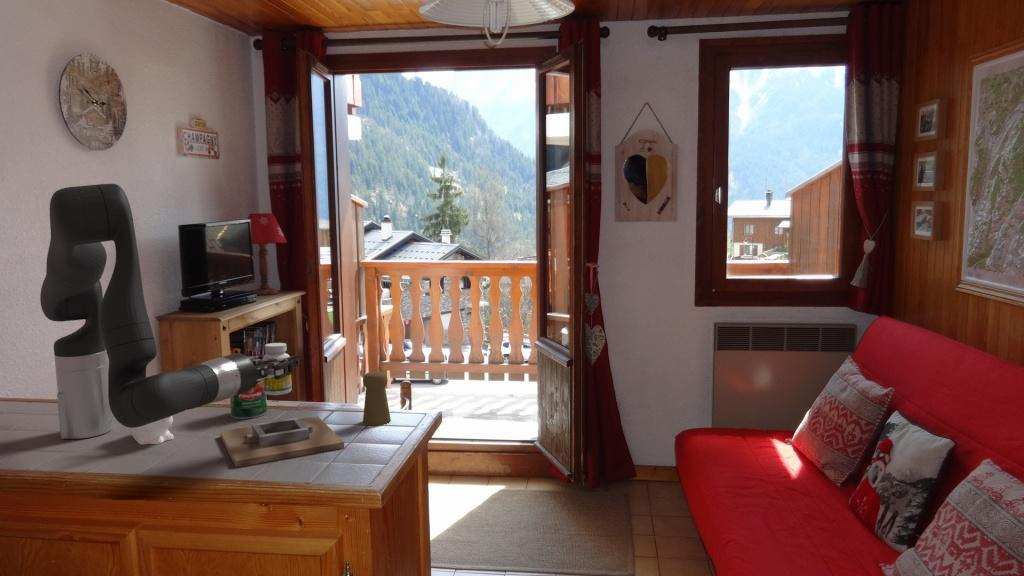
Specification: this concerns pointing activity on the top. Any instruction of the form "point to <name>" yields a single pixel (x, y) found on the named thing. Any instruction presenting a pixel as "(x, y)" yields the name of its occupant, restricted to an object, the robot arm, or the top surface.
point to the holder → (279, 440)
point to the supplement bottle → (270, 384)
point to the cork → (375, 399)
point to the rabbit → (153, 432)
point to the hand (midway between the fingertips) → (284, 359)
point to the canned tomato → (250, 403)
